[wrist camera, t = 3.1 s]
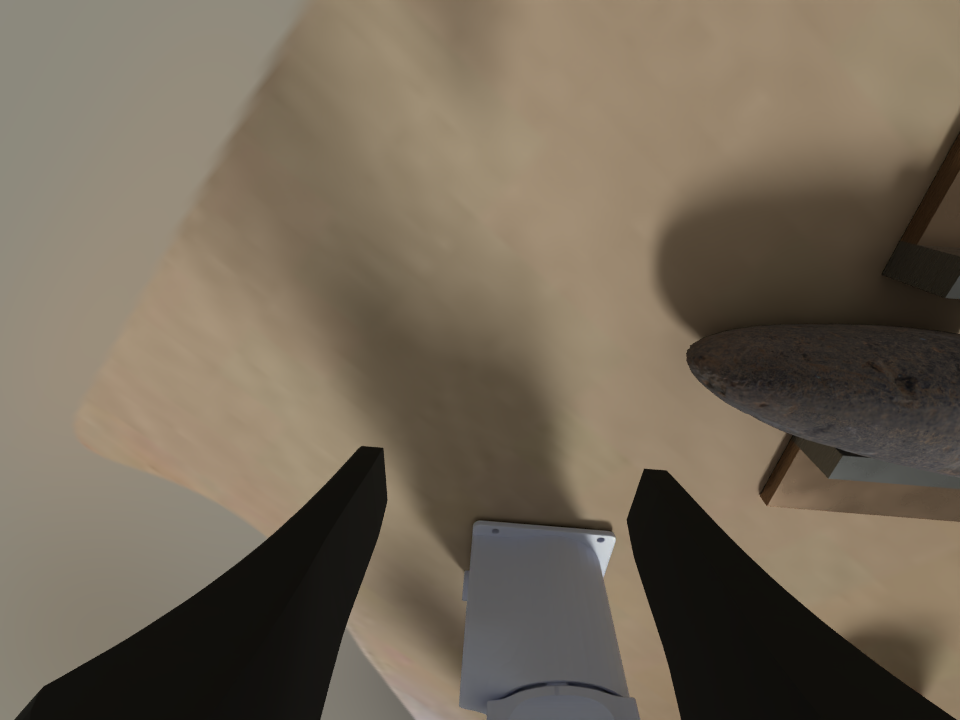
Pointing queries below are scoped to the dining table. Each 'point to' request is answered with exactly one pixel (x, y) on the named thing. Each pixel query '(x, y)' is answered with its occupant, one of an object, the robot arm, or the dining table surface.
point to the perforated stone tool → (844, 387)
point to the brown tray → (863, 480)
